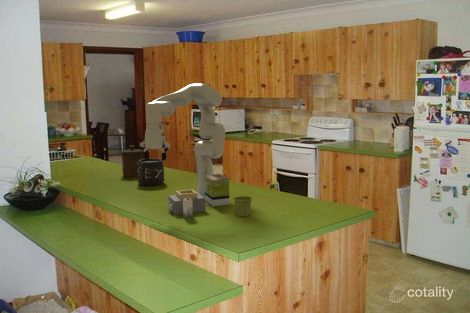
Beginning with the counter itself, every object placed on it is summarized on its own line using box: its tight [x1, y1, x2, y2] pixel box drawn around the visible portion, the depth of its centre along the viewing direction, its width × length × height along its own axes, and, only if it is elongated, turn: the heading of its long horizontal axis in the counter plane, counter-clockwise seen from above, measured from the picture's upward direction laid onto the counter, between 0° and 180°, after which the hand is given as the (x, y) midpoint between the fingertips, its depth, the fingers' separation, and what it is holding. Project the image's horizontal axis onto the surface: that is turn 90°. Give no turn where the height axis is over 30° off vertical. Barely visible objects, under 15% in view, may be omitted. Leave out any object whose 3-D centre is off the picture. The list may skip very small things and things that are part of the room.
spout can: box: [182, 197, 194, 219], centre depth 247 cm, size 5×5×10 cm
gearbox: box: [166, 189, 206, 216], centre depth 261 cm, size 18×14×10 cm
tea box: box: [204, 173, 231, 207], centre depth 275 cm, size 15×10×15 cm, turn 21°
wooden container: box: [121, 144, 144, 178], centre depth 359 cm, size 15×15×22 cm
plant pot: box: [233, 195, 253, 217], centre depth 248 cm, size 9×9×9 cm
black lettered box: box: [137, 158, 165, 188], centre depth 328 cm, size 18×18×16 cm
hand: (155, 159), depth 259 cm, fingers open, 9 cm apart
